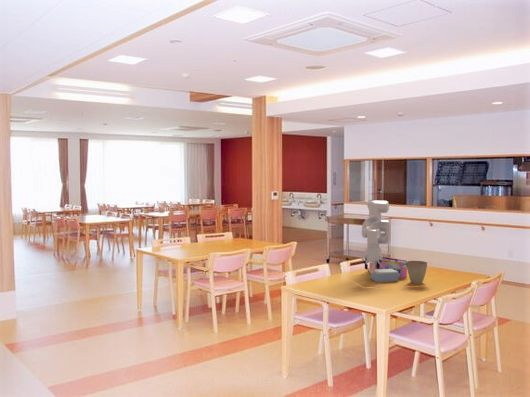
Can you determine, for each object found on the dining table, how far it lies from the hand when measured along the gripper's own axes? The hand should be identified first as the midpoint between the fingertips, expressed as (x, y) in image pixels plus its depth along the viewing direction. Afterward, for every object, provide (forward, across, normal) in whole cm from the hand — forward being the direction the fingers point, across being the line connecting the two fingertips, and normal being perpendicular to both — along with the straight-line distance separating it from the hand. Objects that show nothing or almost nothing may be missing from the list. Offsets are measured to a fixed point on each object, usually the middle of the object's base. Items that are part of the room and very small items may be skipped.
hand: (372, 268), depth 378 cm
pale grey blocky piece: (+3, -9, 0) cm, 9 cm away
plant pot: (+10, -30, +13) cm, 34 cm away
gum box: (+10, -24, -16) cm, 30 cm away
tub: (+10, -10, 0) cm, 14 cm away
